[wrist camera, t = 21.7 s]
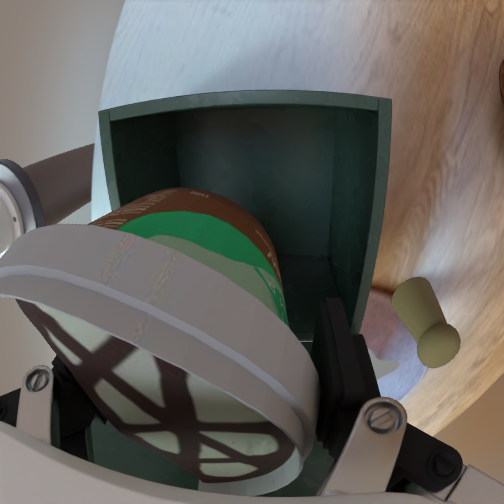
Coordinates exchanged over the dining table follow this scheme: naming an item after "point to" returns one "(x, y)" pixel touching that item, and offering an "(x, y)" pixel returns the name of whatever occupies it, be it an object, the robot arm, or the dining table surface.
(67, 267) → the food container
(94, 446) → the bin lid
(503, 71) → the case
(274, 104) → the waste bin
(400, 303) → the olive pawn figure
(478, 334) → the dining table surface
